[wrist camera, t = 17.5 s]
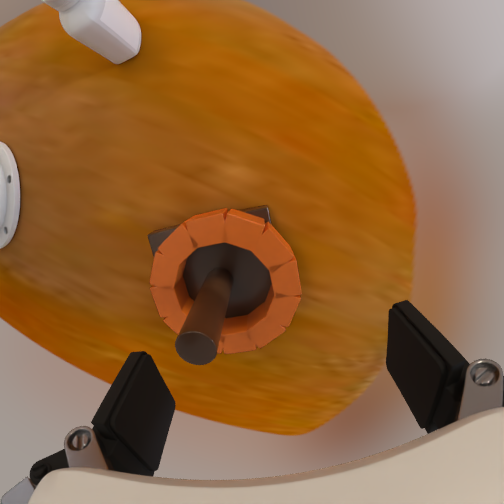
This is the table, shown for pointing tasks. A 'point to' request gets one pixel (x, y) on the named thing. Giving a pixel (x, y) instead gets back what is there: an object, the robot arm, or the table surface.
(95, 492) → the robot arm
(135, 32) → the eye dropper bottle
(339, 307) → the table surface
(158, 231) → the post
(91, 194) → the table surface
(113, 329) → the table surface
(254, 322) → the ring
